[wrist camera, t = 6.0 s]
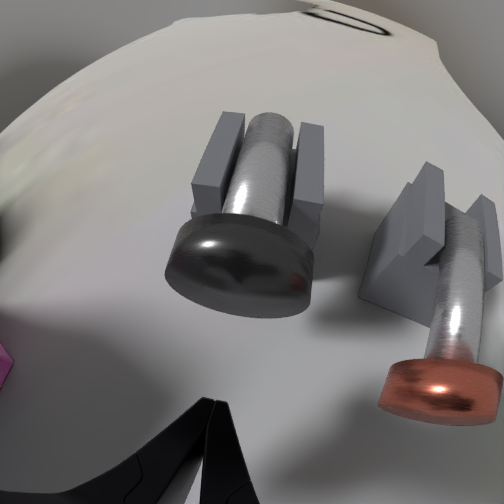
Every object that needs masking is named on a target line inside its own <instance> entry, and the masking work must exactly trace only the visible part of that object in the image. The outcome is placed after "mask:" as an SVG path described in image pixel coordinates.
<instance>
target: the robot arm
mask: <svg viewBox="0 0 504 504" xmlns="http://www.w3.org/2000/svg"><path fill="white" fill-rule="evenodd" d="M202 459H203V466H202V478H201V490H200V503H199V504H260V503H259V501H258V498H257V496H256V493H255V490H254V487H253V484H252V482H251V481H250V480H251V479H250V476H249V473H248V469H247V466H246V463H245V460H244V457H243V453H242V450H241V447H240V444H239V440H238V437H237V433H236V430H235V427H234V423H233V419H232V416H231V412H230V409H229V405H228V403H227V402H225V401H220V400H215V401H214V399H210V398H206V397H202V398H200V399H199V400H198V401H197V402H196V403H195V404H194V405H192V406H191V407H190V408H189V409H188V410H187V411H185V412H184V413H183V414H182V415H181V416H180V417H178V418H177V419H176V420H175V421H174V422H173V423H171V424H170V425H169V426H168V427H167V428H165V429H164V430H163V431H162V432H160V433H159V434H158V435H157V436H156V437H154V438H153V439H152V440H151V441H149V442H148V443H147V444H146V445H144V446H143V447H142V448H140V449H139V450H138V451H137V452H136V453H134V454H133V455H131V456H130V457H129V458H127V459H126V460H124V461H123V462H122V463H120V464H119V465H117V466H116V467H114V468H112V469H111V470H109V471H107V472H105V473H104V474H102V475H100V476H98V477H96V478H94V479H92V480H90V481H88V482H86V483H84V484H82V485H80V486H77V487H75V488H73V489H71V490H68V491H65V492H60V493H21V492H9V491H2V490H0V504H184V503H185V501H186V498H187V496H188V494H189V491H190V489H191V487H192V484H193V482H194V479H195V477H196V474H197V472H198V470H199V467H200V465H201V462H202Z"/></svg>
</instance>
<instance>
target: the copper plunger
mask: <svg viewBox="0 0 504 504" xmlns="http://www.w3.org/2000/svg"><path fill="white" fill-rule="evenodd" d="M483 304H484V248H483V233H482V227H481V225H480V223H479V222H478V221H477V220H476V219H474V218H472V217H470V216H466V215H457V216H453V217H451V218H449V219H447V220H446V221H445V239H444V246H443V247H442V248H441V249H440V258H439V270H438V279H437V288H436V295H435V302H434V309H433V315H432V321H431V326H430V332H429V337H428V341H427V346H426V350H425V355H424V359H412V360H405V361H401V362H397V363H395V364H393V365H392V366H391V367H390V369H389V372H388V375H387V378H386V381H385V384H384V387H383V390H382V393H381V396H380V399H379V402H378V404H377V405H378V407H379V408H381V409H383V410H385V411H387V412H389V413H392V414H395V415H398V416H401V417H404V418H408V419H412V420H417V421H421V422H427V423H433V424H441V425H452V426H477V425H485V424H489V423H492V422H494V421H495V418H496V414H497V410H498V406H499V401H500V396H501V391H502V385H503V380H504V379H503V376H502V375H501V374H500V373H499V372H498V371H496V370H494V369H492V368H490V367H487V366H484V365H480V364H477V361H478V354H479V347H480V339H481V330H482V319H483Z"/></svg>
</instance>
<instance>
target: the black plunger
mask: <svg viewBox="0 0 504 504" xmlns="http://www.w3.org/2000/svg"><path fill="white" fill-rule="evenodd" d="M293 136H294V129H293V126H292V124H291V123H290V122H289V120H288V119H286V118H285V117H283V116H282V115H279V114H276V113H261V114H259V115H257V116H255V117H254V118H253V119H252V120H251V121H250V123H249V126H248V129H247V132H246V135H245V138H244V141H243V144H242V147H241V150H240V154H239V157H238V160H237V163H236V166H235V170H234V173H233V176H232V179H231V183H230V186H229V189H228V193H227V196H226V199H225V203H224V206H223V210H222V213H214V214H207V215H203V216H199V217H196V218H194V219H191V220H189V221H188V222H186V223H185V224H184V225H183V226H182V227H181V228H180V230H179V232H178V234H177V237H176V240H175V243H174V246H173V249H172V252H171V255H170V258H169V261H168V264H167V267H166V270H165V279H166V281H167V282H168V284H169V285H170V286H171V287H172V288H173V289H174V290H175V291H176V292H178V293H179V294H180V295H182V296H184V297H185V298H187V299H189V300H191V301H193V302H195V303H197V304H199V305H202V306H204V307H207V308H210V309H213V310H216V311H219V312H223V313H227V314H232V315H237V316H243V317H250V318H283V317H289V316H293V315H296V314H299V313H301V312H303V311H304V310H306V309H307V308H308V307H309V305H310V299H311V289H312V277H313V265H314V257H313V253H312V251H311V249H310V247H309V246H308V245H307V243H306V242H305V241H304V240H303V239H302V238H301V237H299V236H298V235H297V234H295V233H294V232H292V231H291V230H289V229H287V228H285V227H283V226H282V223H283V216H284V208H285V201H286V193H287V185H288V178H289V170H290V162H291V153H292V145H293Z"/></svg>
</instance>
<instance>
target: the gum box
mask: <svg viewBox="0 0 504 504" xmlns="http://www.w3.org/2000/svg"><path fill="white" fill-rule="evenodd" d="M12 364H13V360H12V359H11V357H10V356H9V355H8V353H7V352H6V350H5V349H4V347H3V346H2V345H1V343H0V388H1V386H2V384H3V382H4V379H5V377H6V375H7V373H8V372H9V370H10V368H11V366H12Z"/></svg>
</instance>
